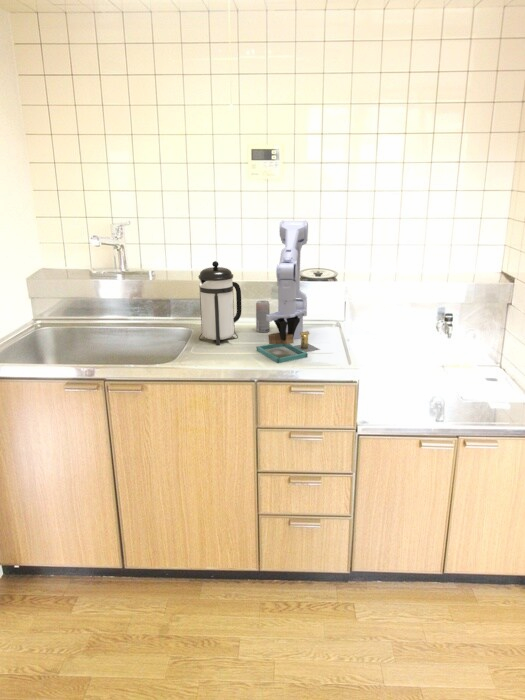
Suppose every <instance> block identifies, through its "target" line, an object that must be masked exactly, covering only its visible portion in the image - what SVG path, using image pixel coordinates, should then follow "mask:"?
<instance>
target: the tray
mask: <svg viewBox="0 0 525 700" xmlns="http://www.w3.org/2000/svg"><path fill="white" fill-rule="evenodd" d="M295 346H296V345H293V344H269V343H268V344H264V345H258V346H256V352H258V353H260V354H262V355H263V356H265V357H267V358H269V359H270V360H271V361H273V362H275V363H277V364H280V363H286V362H290V361H296V360H300V359H301V360H302V359H305V358H308V354H309V352H304V351H302V350H300V349H298V348H296V347H295ZM281 347H285V348H287V349H289V350H290V351H292V352H294V353H296V354H294V355H293V354H291V355H288V356H282V357H278V356H276V355H274V354H272V353H271V352H270V351H268V350H270V349H271V350H272V349H276V348H281Z"/></svg>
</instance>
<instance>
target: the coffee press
mask: <svg viewBox="0 0 525 700" xmlns="http://www.w3.org/2000/svg"><path fill="white" fill-rule="evenodd" d="M219 264H220V263H219V262H218V261H216V260H215V261H213V262H212V267H206V268H203V269H202V270H200V272H199V275H198V276H197V277H198V280H199V303H200V321H201V322H200V324H201V333H200V335H199V337H198V340H199V341H203V340H204V339H208V340H213V341H214V340H215V345H216V346H220V345H221V340H227V339H230V338H233V339H234V340H237V339H239V335H238V334H237V333H236V332H235V323H236V322H238V321H239V319H240V318H241V316H242V290H241V287H240V284H239V283H237V282H235V281H233V279H234V274H233V272H232V271H231V270H230V269H229V268H227V267H222V266H221V267H220V266H219ZM234 289H235V292H236V293H235V294H236V313H235V315H234V310H235V308H234V307H235V303H234V301H235V300H234ZM234 335H236V337H235V336H234ZM201 336H203V337H202V338H201ZM200 339H202V340H200Z"/></svg>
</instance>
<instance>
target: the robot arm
mask: <svg viewBox="0 0 525 700" xmlns="http://www.w3.org/2000/svg"><path fill="white" fill-rule="evenodd" d="M308 234H309V222H308V221H307V220H281V221H280V223H279V237H280V241H281V244H283V245H284V248H283V249H282V250H280V251H281V253H280V258H279V263H278V264H277V265H276V270H275V271H276V272H275V273H276V274H275V275H276V283H277V285H276V286H277V287H278V288H277V292H278V293H277V295H278V296H277V301H278V302H277V305H278V307H277V309H278V310H277V311H276V312H273V313H270V314H269V315H266V320H267V321H269V322H270V323H271V322H272V321H273V322H274V323H275V326H276V327H277V328H276V329H277V331H278V333H279V334H280V338H281V340H283V341H285V339H286V332H288V334H293V340H299V339H300V340H301V335H300V332H304V317H307V316H308V303H307V302H308V300H307V295H306V294H305V293H304V292H303V291H302V290H300V287H301V284H300V283H301V281H300V280H301V250H302V247H303V246H305V245H306V244H308V243H307V242H308V240H309V239H308V238H309V237H308V236H309V235H308Z"/></svg>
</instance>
